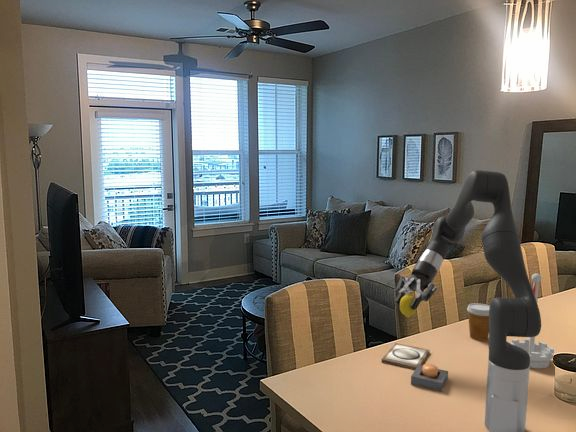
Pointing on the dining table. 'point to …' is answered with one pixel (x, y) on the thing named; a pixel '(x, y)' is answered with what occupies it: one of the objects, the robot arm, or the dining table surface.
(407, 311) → the lemon
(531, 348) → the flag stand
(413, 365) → the drawing board
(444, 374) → the button housing
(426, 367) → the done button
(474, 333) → the disposable coffee cup
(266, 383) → the dining table surface
